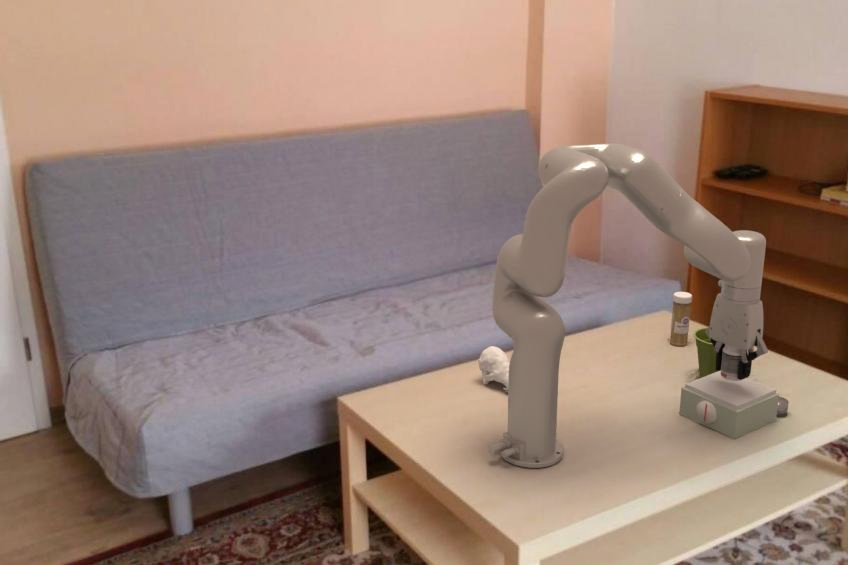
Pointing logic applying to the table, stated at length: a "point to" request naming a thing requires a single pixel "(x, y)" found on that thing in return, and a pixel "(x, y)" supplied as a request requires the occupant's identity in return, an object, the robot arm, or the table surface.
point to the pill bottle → (730, 363)
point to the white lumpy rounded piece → (494, 366)
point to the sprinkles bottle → (680, 318)
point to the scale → (729, 404)
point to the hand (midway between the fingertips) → (732, 372)
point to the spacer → (782, 407)
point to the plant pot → (705, 353)
